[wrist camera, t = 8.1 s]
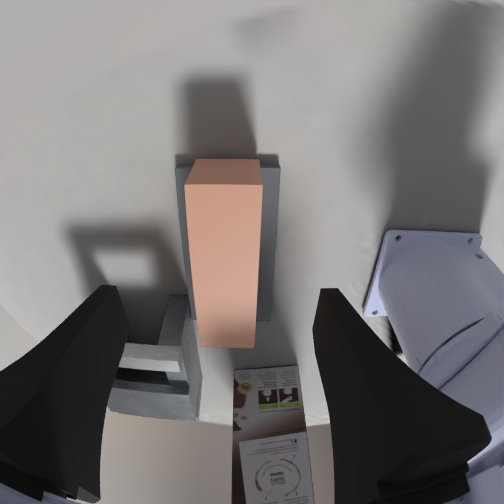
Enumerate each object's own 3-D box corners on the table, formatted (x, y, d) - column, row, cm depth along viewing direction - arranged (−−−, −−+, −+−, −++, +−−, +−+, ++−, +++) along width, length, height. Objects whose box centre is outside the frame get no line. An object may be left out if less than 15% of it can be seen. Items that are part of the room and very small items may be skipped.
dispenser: (189, 295, 23) (177, 361, 18) (202, 377, 30) (197, 432, 24) (97, 291, 23) (70, 350, 18) (129, 372, 29) (116, 423, 24)
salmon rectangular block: (259, 159, 17) (262, 185, 14) (252, 306, 23) (254, 348, 20) (196, 158, 17) (184, 184, 14) (205, 305, 23) (200, 347, 20)
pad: (279, 165, 18) (280, 168, 18) (269, 315, 25) (269, 320, 24) (177, 165, 18) (175, 168, 17) (192, 314, 25) (191, 319, 24)
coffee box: (231, 369, 29) (228, 535, 15) (299, 363, 28) (320, 530, 15) (243, 412, 34) (244, 541, 20) (298, 407, 34) (312, 536, 20)
